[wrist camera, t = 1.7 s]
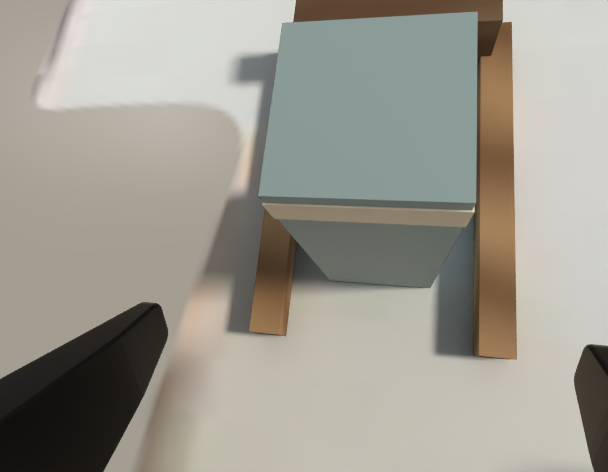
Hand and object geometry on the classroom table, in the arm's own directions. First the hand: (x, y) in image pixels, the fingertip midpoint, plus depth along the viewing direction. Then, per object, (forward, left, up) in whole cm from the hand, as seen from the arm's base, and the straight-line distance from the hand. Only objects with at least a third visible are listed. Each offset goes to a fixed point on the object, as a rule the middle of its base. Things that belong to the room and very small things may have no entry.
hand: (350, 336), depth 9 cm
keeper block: (+2, +5, -12) cm, 14 cm away
